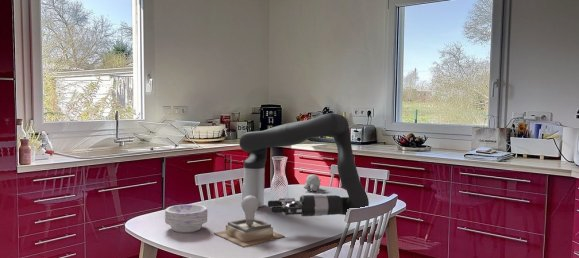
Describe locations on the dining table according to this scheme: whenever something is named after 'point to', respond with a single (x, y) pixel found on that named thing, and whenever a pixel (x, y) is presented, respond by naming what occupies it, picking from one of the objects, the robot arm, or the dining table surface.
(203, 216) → the paper bowls
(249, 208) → the lightbulb
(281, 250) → the dining table surface
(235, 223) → the square tan tray
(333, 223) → the dining table surface
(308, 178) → the round bodied animal figurine
